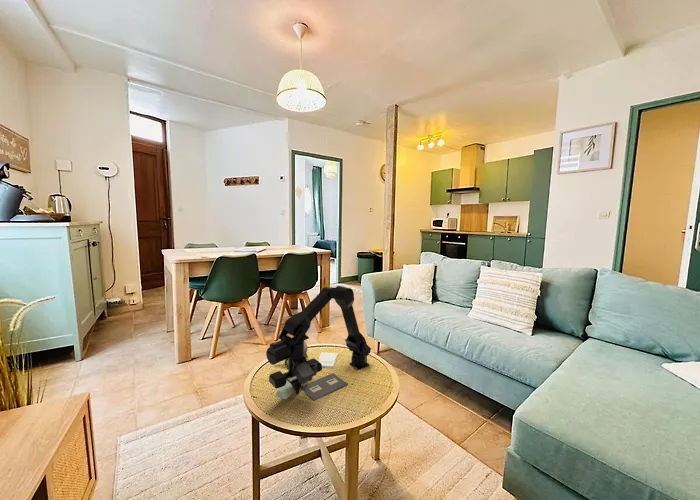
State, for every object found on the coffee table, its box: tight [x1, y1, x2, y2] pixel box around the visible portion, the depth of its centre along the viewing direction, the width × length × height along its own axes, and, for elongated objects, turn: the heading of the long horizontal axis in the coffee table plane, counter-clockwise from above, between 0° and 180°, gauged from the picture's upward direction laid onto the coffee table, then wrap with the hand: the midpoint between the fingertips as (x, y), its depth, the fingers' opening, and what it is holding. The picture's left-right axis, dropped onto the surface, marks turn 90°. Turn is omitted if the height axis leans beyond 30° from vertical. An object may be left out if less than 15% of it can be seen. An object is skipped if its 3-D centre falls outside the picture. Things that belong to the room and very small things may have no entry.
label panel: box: [300, 373, 349, 402], centre depth 116 cm, size 16×15×2 cm
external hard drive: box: [317, 351, 339, 369], centre depth 134 cm, size 2×8×12 cm
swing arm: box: [276, 381, 294, 400], centre depth 111 cm, size 18×4×2 cm, turn 162°
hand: (296, 394), depth 105 cm, fingers closed
